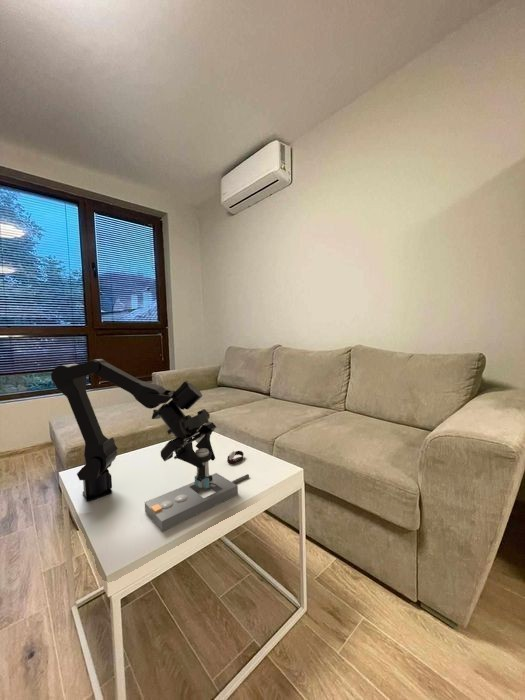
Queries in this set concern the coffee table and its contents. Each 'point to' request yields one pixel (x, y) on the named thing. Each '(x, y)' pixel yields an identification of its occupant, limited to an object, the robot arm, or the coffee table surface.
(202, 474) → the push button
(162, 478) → the coffee table surface
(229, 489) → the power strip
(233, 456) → the watch
